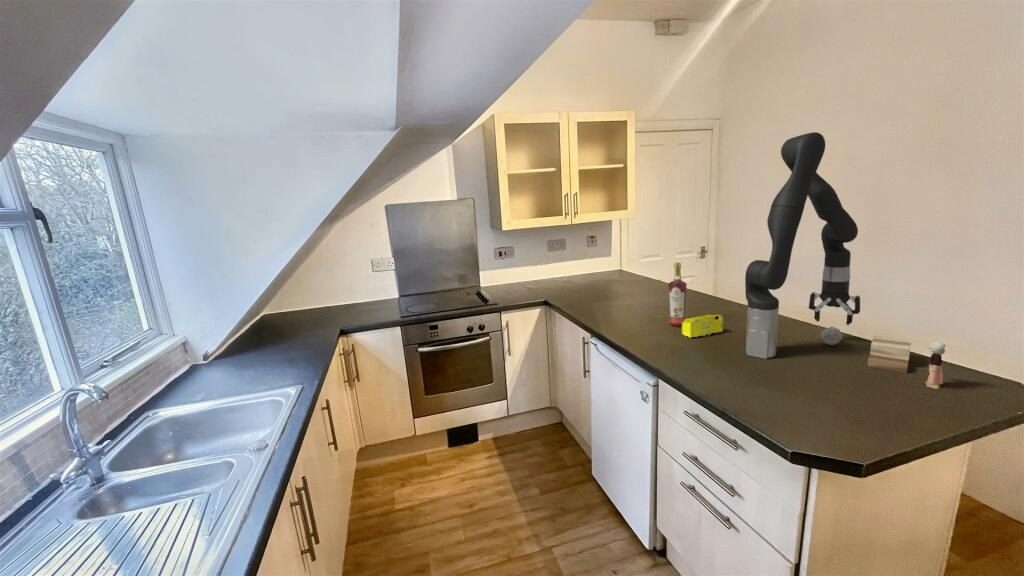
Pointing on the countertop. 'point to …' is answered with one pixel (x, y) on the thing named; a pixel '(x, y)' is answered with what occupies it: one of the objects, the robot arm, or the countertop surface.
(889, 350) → the plinth
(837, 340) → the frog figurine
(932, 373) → the grandmother figurine
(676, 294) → the liquor
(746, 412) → the countertop surface
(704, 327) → the yellow toy chassis
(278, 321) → the countertop surface
